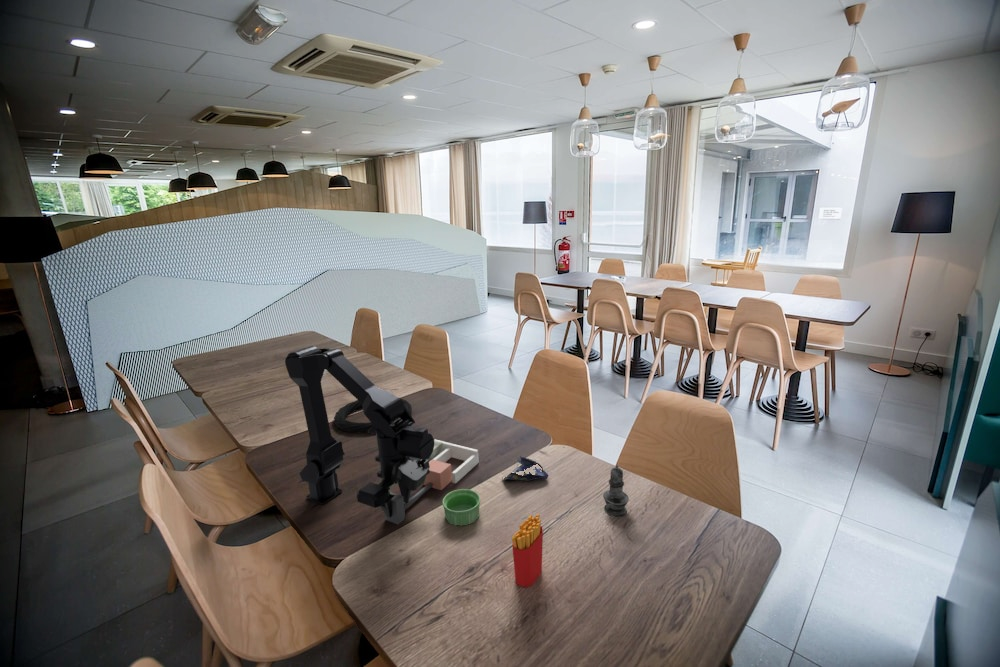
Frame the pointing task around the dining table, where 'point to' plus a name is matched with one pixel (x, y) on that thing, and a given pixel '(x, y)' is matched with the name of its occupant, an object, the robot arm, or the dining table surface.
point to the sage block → (436, 450)
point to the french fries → (528, 551)
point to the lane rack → (459, 453)
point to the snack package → (525, 464)
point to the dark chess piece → (616, 494)
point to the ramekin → (461, 506)
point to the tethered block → (435, 479)
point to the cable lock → (358, 427)
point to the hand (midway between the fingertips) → (397, 509)
